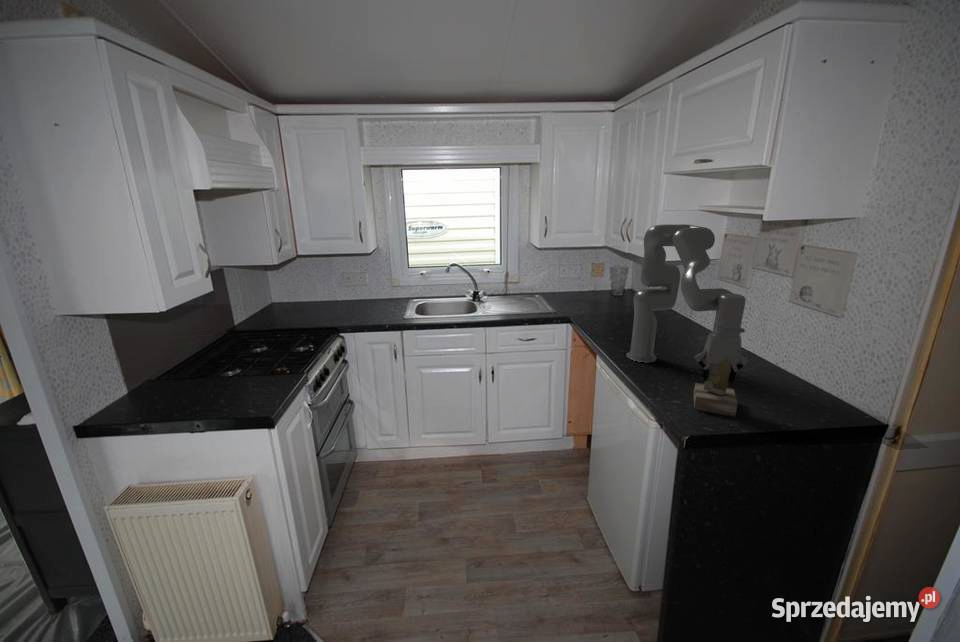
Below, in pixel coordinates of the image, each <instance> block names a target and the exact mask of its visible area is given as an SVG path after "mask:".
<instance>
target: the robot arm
mask: <svg viewBox="0 0 960 642" xmlns="http://www.w3.org/2000/svg"><path fill="white" fill-rule="evenodd" d="M715 240H716V236H715V233H714V232H713V231H712V230H711V229H710V228H708V227H704V226H698V225H694V224H682V223H681V224H657V225H653V226H650V227H649V228H647V230H646V231H645V233H644V237H643V249H644V250H643V252H644V253H643V259H642V260H643V261H642V266H641V273H640V282H641V284H642V286H644V287H647V289H646V288H644V289H640V290H638V291H637V292H635V294H634V295H633V311H634V313H633V322H632V323H633V325H632V326H633V327H632V335H631V344H630V351H628V352H626V358H627V357H628V358H629V359H628V358H627V359H628V360H630V359H631V360H630V361H632V360H633V361H632V362H635V361H637V363H640V362H644V364H651V363H654V362H656V361H657V356H656V355H655V354H654V350H655V349H654V348H655V341H656V333H657V325H658V321H657V318H656V315H655V314H654V312H656V311H657V312H658V311H670V310H672V309H673V308H674V306H675V305H676V303H677V299H678V298H677V297H678V295H679V294H678V293H679V290H680V291H681V294H682V296H683V299H684V301H685V303H686V304H687V306H688V307H689V309H691V310H692V311H694V312H710V311H713V312H714V311H715V316H714V322H713V328H712V329H713V330H712V332H709V333H708V335H707V339H706V340H705V341H706V342H705V344H704V347H703V350H702V351H701V352H699V353H698V354H695V355H694V357H693V358H694V359H695V360H696V362H697V363H698V365H699V366H700V367H702V368H701V374H700V377H701V378H702V380H703V381H704V382H705V381H707V379H708V373H709V370H708V368H709V367H710V365H711V364H720V362H721V361H731V365H732V368H731V373H730V377H729V382H728V383H731V384H733V383H734V380H735V379H736V376H737V373H738V372H739V370H740V369H742V368H743V367H744V366H745V365H747V364H748V363H749V360H748V359H747V358H746V357H745V356H744V355H742V337H741V334H742V333H745V330H746V329H745V328H742V323H743V322H742V321H743V317H744V312H745V307H746V302H747V301H746V297H745V296H744V295H743V294H739V293H734V292H732V291H730V290H728V289H726V288H721V287H720V288H719V287H718V288H700V287H699V284H698V283H697V280H696V275H697V274H700V273H701V272H702V271H705V270H706V269H707V268H708V267H709V266H710V265H711V259H710V256H709V254H708V252H707V251H708V250H711V249H712V248H713V246H714V245H715ZM664 247H674V248H675V251H676V252H677V255H678V257H679V260H680V262H681V263H682V266H683V268H684V272H683V274H682V276H681V272H680V269H679V267H678V266H677V265H676V264H673V263H666V259H667V252H666V250H665V248H664ZM655 287H657V288H655ZM658 287H661V288H658ZM679 287H680V289H679ZM702 358H703V359H705V360H702ZM650 362H651V363H650Z"/></svg>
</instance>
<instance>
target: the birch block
mask: <svg viewBox="0 0 960 642" xmlns="http://www.w3.org/2000/svg"><path fill="white" fill-rule="evenodd" d="M704 384H705V383H700V382H699V383H698V382H695V383H694V389H693V395H692V396H693V406H694V408H693V409H694V410H698V411H703V412H709V413H713V414H719V415H723V416H729V415H730V416H729V417H733V418H734V417H736V416H737V415H736V413H737V409H738V404H739V403H738V400H737V396H736V393H735V392H736V391H735V389H734V388H729V387H727V390H726V392H725V393H724V394H723V395H720V394H717V393H714V392H711V391H708V390H705V389H704Z"/></svg>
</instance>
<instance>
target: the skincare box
mask: <svg viewBox="0 0 960 642" xmlns="http://www.w3.org/2000/svg"><path fill="white" fill-rule="evenodd" d="M731 368H732V365H731V361H721V362H720V364H711V365H710V367H709V368H708V370H709V373H708V379H707V381H705V380H704V383H703V384H704V389H705V390H708V391H711V392H714V393H717V394H720V395H723V394H724V393H725V392H726V390H727V388H728V386H729V383H730V382H729V377H730V373H731Z"/></svg>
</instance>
